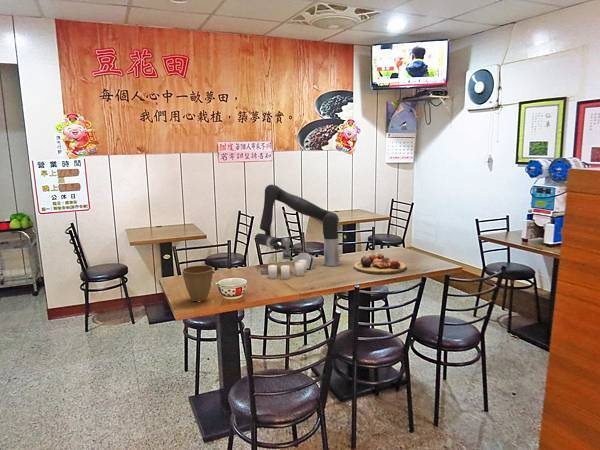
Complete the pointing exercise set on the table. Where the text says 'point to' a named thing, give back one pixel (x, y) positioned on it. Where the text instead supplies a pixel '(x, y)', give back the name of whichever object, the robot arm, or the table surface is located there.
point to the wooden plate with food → (379, 265)
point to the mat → (264, 272)
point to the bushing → (286, 252)
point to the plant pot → (198, 281)
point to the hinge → (306, 257)
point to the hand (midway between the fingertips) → (288, 247)
